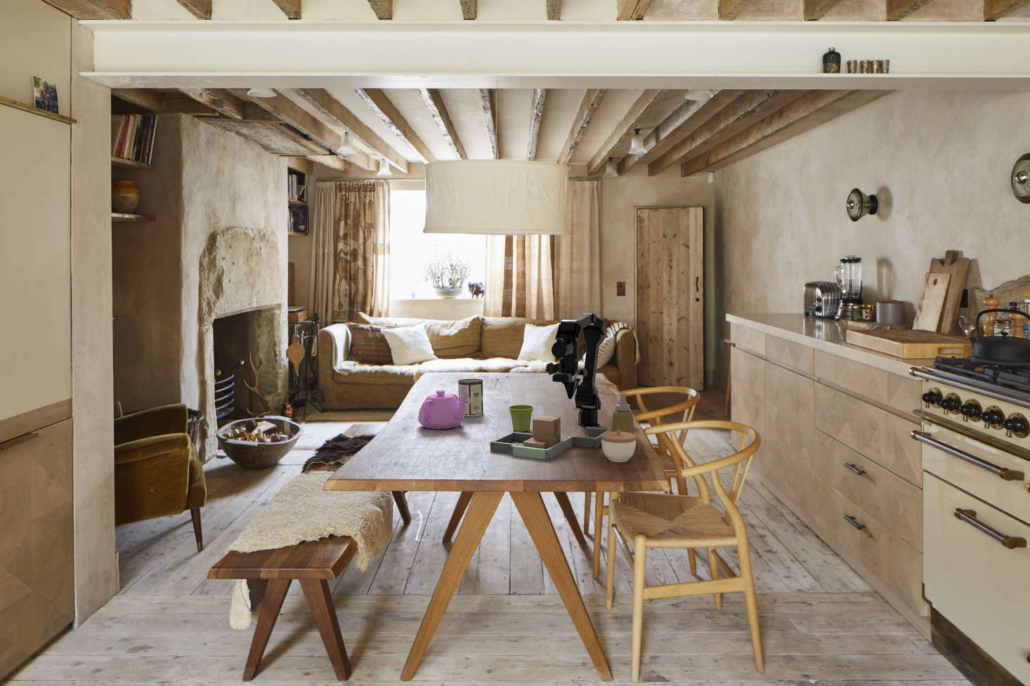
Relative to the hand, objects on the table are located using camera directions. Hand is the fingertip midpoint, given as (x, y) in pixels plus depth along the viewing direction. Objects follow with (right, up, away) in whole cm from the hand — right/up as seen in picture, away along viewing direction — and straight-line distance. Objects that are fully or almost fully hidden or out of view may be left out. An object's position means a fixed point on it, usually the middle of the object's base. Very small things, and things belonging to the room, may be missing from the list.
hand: (570, 398), depth 249 cm
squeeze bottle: (+16, -15, -18) cm, 28 cm away
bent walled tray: (-7, -14, -13) cm, 21 cm away
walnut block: (-11, -15, -20) cm, 27 cm away
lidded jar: (+12, -17, -32) cm, 38 cm away
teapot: (-46, -12, +16) cm, 50 cm away
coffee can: (-38, -10, +39) cm, 55 cm away
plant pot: (-17, -13, +9) cm, 23 cm away
